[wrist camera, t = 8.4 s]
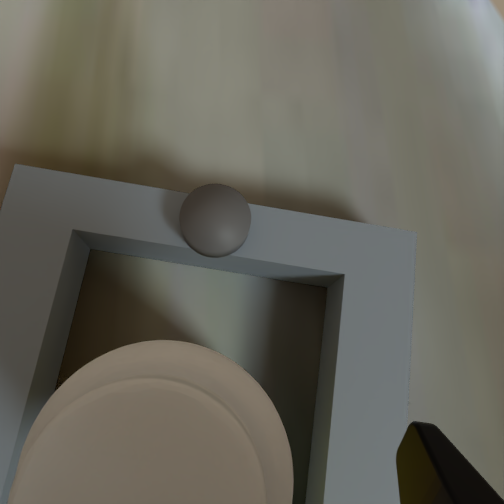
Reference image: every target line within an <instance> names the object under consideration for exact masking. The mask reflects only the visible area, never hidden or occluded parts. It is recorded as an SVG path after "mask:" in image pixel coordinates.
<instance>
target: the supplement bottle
mask: <svg viewBox="0 0 504 504" xmlns="http://www.w3.org/2000/svg"><path fill="white" fill-rule="evenodd" d="M293 482H294V479H293V463H292V455H291V450H290V445H289V442H288V438H287V434H286V431H285V428H284V426H283V424H282V421H281V419H280V416H279V414H278V412H277V410H276V408H275V406H274V405H273V403H272V401H271V400H270V398H269V397H268V395H267V394H266V392H265V391H264V390H263V388H262V387H261V386H260V385H259V383H258V382H257V381H256V380H255V379H254V378H253V377H252V376H251V375H250V374H249V373H248V372H247V371H246V370H245V369H243V368H242V367H241V366H239V365H238V364H237V363H236V362H234V361H232V360H231V359H229V358H227V357H226V356H224V355H222V354H220V353H218V352H216V351H214V350H212V349H209V348H206V347H204V346H200V345H197V344H194V343H189V342H182V341H174V340H153V341H144V342H139V343H134V344H130V345H126V346H123V347H120V348H117V349H115V350H112V351H110V352H107V353H106V354H104V355H102V356H100V357H98V358H96V359H94V360H92V361H91V362H89V363H87V364H86V365H85V366H83V367H82V368H80V369H79V370H78V371H76V372H75V373H74V374H73V375H72V376H70V377H69V378H68V379H67V380H66V381H65V382H64V383H63V384H62V385H61V386H60V387H59V388H58V389H57V390H56V391H55V393H54V394H53V395H52V396H51V397H50V398H49V400H48V401H47V403H46V404H45V405H44V407H43V408H42V410H41V411H40V413H39V415H38V416H37V418H36V420H35V421H34V423H33V425H32V427H31V429H30V431H29V433H28V436H27V438H26V441H25V443H24V446H23V448H22V451H21V455H20V458H19V462H18V466H17V471H16V475H15V477H14V480H13V483H12V486H11V489H10V493H9V498H8V502H7V504H292V498H293Z"/></svg>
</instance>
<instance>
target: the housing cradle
mask: <svg viewBox="0 0 504 504" xmlns="http://www.w3.org/2000/svg"><path fill="white" fill-rule="evenodd" d="M416 242H417V232H414V231H408V230H402V229H396V228H390V227H384V226H378V225H372V224H367V223H361V222H355V221H349V220H343V219H337V218H331V217H325V216H320V215H314V214H308V213H302V212H296V211H290V210H284V209H278V208H273V207H267V206H261V205H255V204H249V203H247V201H246V200H245V198H244V197H243V196H242V195H241V194H240V193H239V192H238V191H236V190H235V189H233V188H231V187H229V186H226V185H222V184H208V185H204V186H201V187H199V188H197V189H195V190H194V191H192V192H191V193H184V192H178V191H173V190H167V189H161V188H155V187H149V186H143V185H137V184H131V183H126V182H120V181H114V180H108V179H102V178H96V177H90V176H84V175H79V174H73V173H67V172H61V171H55V170H49V169H43V168H37V167H32V166H26V165H20V164H15V165H14V169H13V172H12V175H11V178H10V181H9V184H8V188H7V191H6V194H5V197H4V200H3V203H2V207H1V210H0V504H7V502H8V498H9V493H10V489H11V486H12V483H13V480H14V477H15V475H16V471H17V466H18V462H19V458H20V455H21V451H22V448H23V446H24V443H25V441H26V438H27V436H28V433H29V431H30V429H31V427H32V425H33V423H34V421H35V420H36V418H37V416H38V415H39V413H40V411H41V410H42V408H43V407H44V405H45V404H46V403H47V401H48V400H49V398H50V397H51V396H52V395H53V394H54V391H55V387H56V383H57V379H58V375H59V371H60V367H61V363H62V360H63V356H64V352H65V348H66V344H67V340H68V336H69V332H70V328H71V324H72V320H73V316H74V312H75V308H76V304H77V300H78V296H79V292H80V288H81V284H82V280H83V276H84V272H85V268H86V264H87V261H88V257H89V253H90V249H94V250H100V251H106V252H112V253H119V254H125V255H131V256H137V257H143V258H149V259H155V260H161V261H168V262H174V263H180V264H186V265H192V266H198V267H204V268H210V269H217V270H223V271H229V272H235V273H241V274H247V275H253V276H260V277H266V278H272V279H278V280H284V281H290V282H296V283H302V284H309V285H315V286H321V287H327V298H326V308H325V317H324V327H323V337H322V346H321V356H320V366H319V375H318V385H317V395H316V404H315V414H314V424H313V433H312V443H311V453H310V462H309V472H308V482H307V491H306V501H305V504H400V497H399V487H398V478H397V468H396V453H397V449H398V447H399V445H400V443H401V441H402V438H403V436H404V434H405V432H406V430H407V418H408V399H409V379H410V360H411V340H412V321H413V301H414V282H415V262H416Z"/></svg>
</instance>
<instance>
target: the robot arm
mask: <svg viewBox="0 0 504 504" xmlns="http://www.w3.org/2000/svg"><path fill="white" fill-rule="evenodd" d="M396 468H397V478H398V487H399V497H400V504H504V500H503V499H502V498H501V497H500V496H499V495H498V494H497V493H496V491H495V490H494V489H493V488H492V487H491V486H490V485H489V484H488V483H487V481H486V480H485V479H484V478H483V477H482V476H481V475H480V474H479V473H478V471H477V470H476V469H475V468H474V467H473V466H472V465H471V464H470V463H469V461H468V460H467V459H466V458H465V457H464V456H463V455H462V454H461V453H460V452H459V450H458V449H457V448H456V447H455V446H454V445H453V444H452V443H451V442H450V440H449V439H448V438H447V437H446V436H445V435H444V434H443V433H442V432H441V430H440V429H439V428H438V427H437V426H435V425H434V424H431V423H424V422H417V421H413V422H412V423H410V425H409V426H408V428H407V430H406V432H405V434H404V436H403V438H402V441H401V443H400V445H399V447H398V449H397V453H396Z"/></svg>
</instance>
